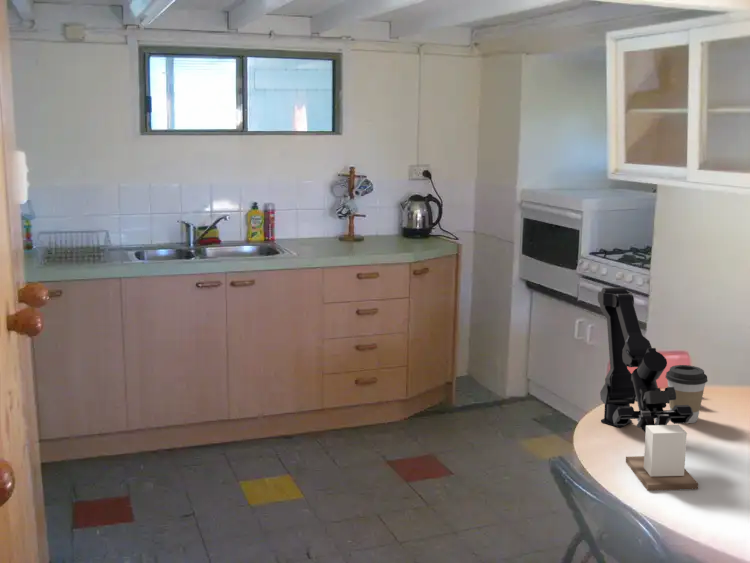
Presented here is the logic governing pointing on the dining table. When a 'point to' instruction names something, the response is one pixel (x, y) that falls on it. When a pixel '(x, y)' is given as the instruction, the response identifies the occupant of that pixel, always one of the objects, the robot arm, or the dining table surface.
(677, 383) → the coffee cup
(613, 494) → the dining table surface
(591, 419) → the dining table surface
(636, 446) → the dining table surface
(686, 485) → the board
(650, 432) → the block
